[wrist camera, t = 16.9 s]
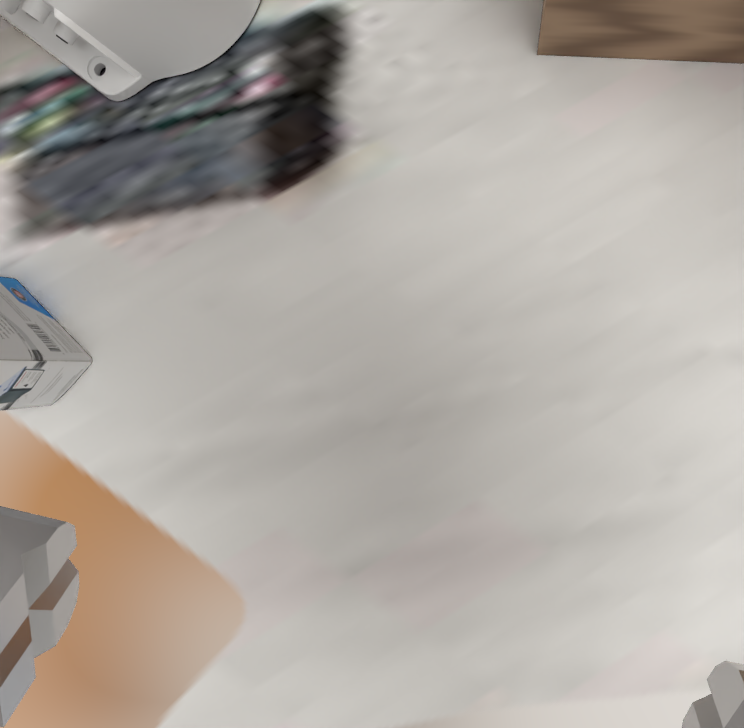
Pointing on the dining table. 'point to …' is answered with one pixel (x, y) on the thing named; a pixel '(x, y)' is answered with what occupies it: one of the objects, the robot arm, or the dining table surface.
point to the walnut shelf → (644, 29)
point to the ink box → (34, 351)
